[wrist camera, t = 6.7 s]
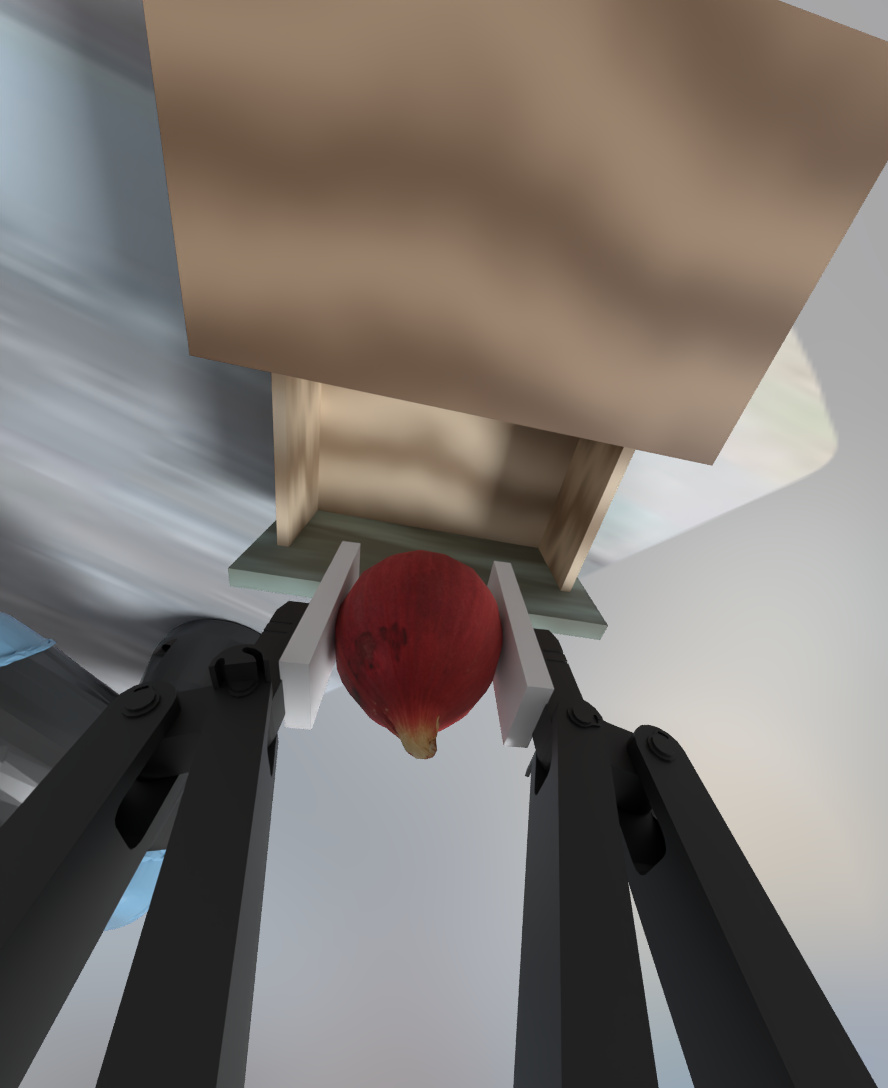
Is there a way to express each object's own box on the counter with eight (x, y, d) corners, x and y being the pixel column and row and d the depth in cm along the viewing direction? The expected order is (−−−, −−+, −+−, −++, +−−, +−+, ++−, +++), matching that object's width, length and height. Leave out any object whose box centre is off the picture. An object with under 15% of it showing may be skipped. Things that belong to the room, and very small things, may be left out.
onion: (359, 618, 17) (299, 806, 10) (360, 509, 14) (277, 661, 7) (477, 629, 17) (501, 818, 10) (500, 525, 14) (556, 684, 7)
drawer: (547, 569, 36) (591, 655, 26) (296, 528, 34) (232, 604, 23) (607, 419, 29) (703, 453, 19) (296, 350, 27) (202, 345, 16)
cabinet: (601, 422, 30) (712, 465, 18) (300, 356, 28) (189, 355, 15) (683, 215, 24) (943, 63, 12) (300, 103, 21) (109, -253, 9)
